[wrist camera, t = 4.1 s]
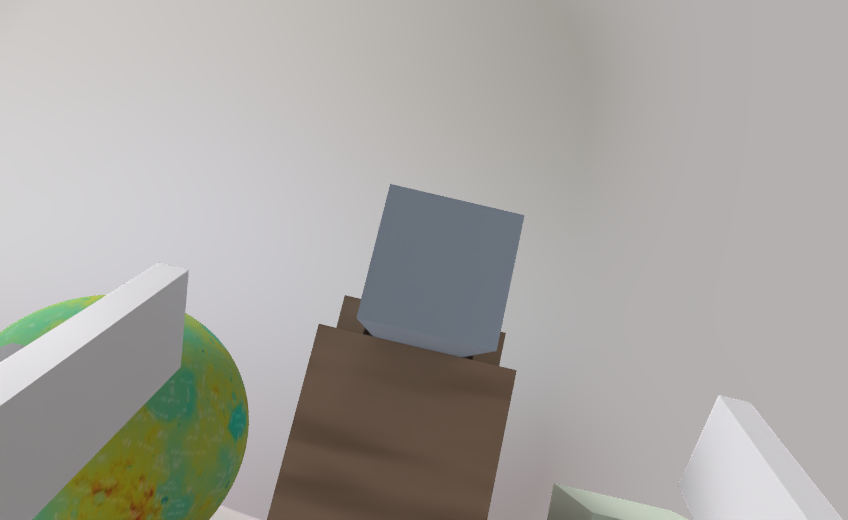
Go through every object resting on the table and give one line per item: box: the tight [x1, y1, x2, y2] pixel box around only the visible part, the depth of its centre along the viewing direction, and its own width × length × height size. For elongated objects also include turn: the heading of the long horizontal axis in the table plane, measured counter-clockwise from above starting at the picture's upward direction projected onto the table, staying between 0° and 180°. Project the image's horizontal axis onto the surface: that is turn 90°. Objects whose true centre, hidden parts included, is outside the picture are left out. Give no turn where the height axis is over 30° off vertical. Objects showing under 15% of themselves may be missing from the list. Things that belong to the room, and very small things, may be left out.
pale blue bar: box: [357, 184, 524, 357], centre depth 30 cm, size 28×4×4 cm, turn 2°
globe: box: [0, 295, 249, 520], centre depth 65 cm, size 30×30×30 cm
